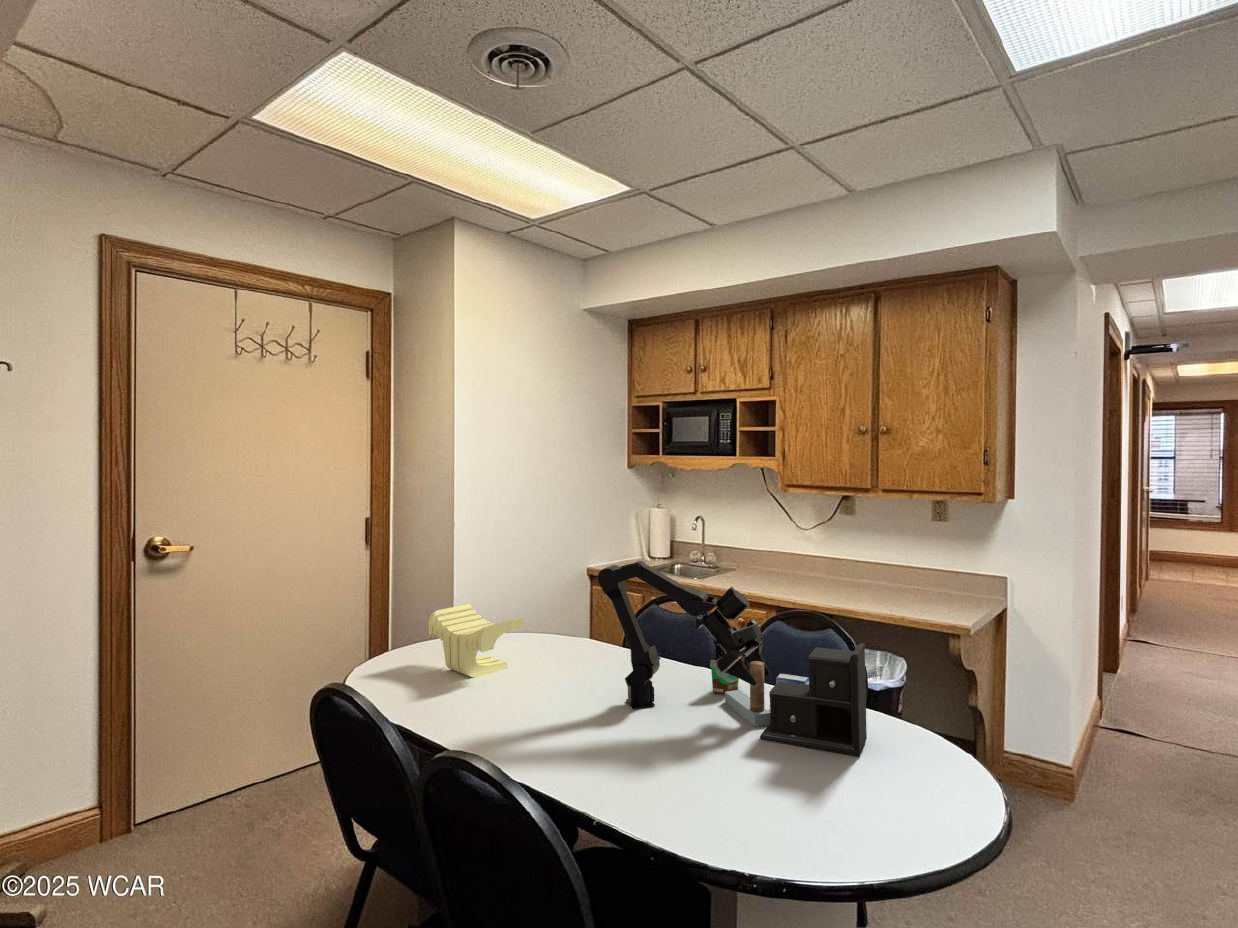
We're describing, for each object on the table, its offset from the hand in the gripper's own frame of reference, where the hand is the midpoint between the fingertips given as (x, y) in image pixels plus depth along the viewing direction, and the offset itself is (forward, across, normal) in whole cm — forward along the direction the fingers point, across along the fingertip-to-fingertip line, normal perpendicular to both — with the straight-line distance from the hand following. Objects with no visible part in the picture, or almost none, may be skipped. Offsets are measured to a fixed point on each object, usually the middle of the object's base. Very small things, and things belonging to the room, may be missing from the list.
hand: (762, 679), depth 182 cm
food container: (-4, +18, +20) cm, 27 cm away
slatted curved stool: (-59, -4, +76) cm, 96 cm away
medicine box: (+11, +13, +5) cm, 18 cm away
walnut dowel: (+5, 0, +7) cm, 8 cm away
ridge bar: (+4, +4, +12) cm, 13 cm away
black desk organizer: (+18, -4, -2) cm, 19 cm away
